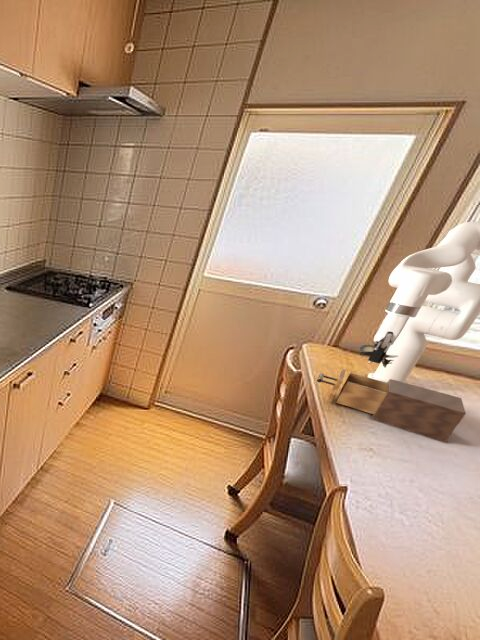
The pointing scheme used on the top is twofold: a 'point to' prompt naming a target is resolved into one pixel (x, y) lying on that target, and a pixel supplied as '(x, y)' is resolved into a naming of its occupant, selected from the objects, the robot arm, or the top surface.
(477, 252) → the robot arm
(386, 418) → the cabinet
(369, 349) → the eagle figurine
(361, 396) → the drawer
